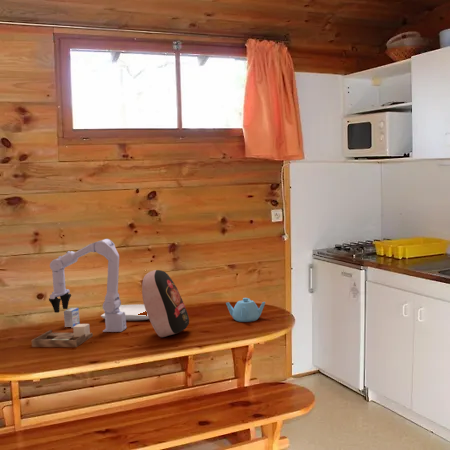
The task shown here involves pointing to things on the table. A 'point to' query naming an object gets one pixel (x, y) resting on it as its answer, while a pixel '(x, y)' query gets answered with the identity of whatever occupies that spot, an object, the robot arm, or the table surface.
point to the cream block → (81, 330)
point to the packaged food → (163, 304)
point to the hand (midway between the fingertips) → (61, 310)
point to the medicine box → (71, 317)
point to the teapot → (245, 310)
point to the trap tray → (59, 340)
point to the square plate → (132, 312)
